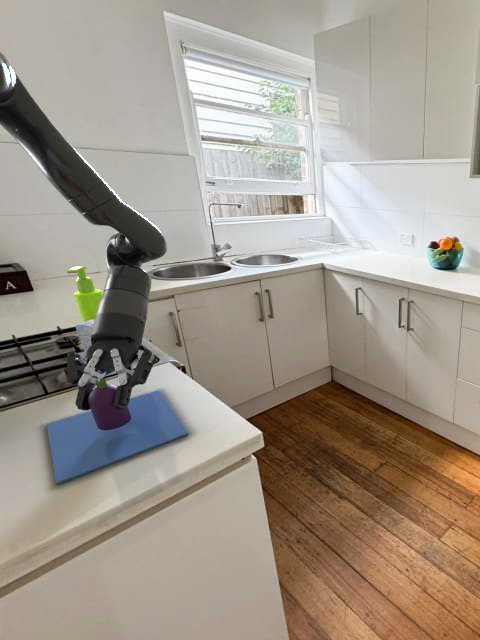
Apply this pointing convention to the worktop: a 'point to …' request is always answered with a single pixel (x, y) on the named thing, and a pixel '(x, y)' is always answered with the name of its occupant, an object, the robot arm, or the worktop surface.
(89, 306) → the soap dispenser
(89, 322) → the medicine box
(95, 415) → the eggplant
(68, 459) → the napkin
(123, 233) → the robot arm
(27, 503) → the worktop surface
